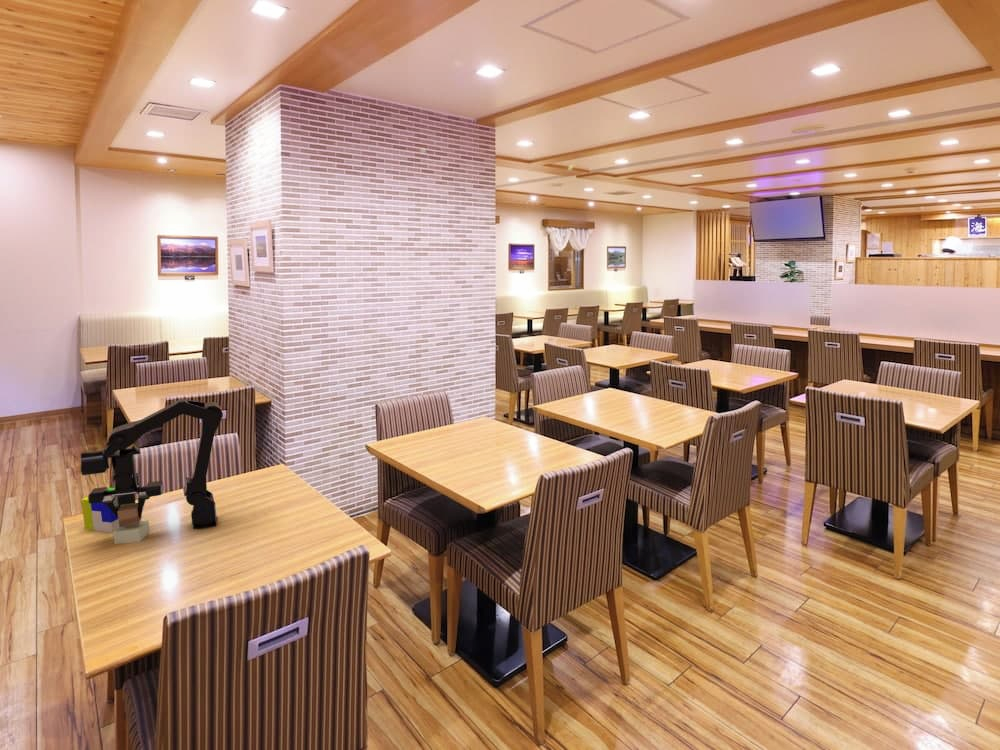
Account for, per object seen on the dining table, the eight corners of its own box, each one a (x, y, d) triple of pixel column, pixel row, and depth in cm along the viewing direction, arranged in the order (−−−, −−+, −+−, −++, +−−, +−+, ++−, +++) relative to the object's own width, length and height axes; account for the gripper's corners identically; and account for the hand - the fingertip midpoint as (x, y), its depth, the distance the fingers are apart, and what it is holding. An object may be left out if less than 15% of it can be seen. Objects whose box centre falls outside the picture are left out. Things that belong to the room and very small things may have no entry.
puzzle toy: (112, 532, 188) (108, 502, 186) (85, 529, 190) (81, 499, 188) (137, 519, 198) (134, 490, 196) (111, 516, 200) (107, 487, 198)
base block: (149, 532, 189) (148, 520, 188) (139, 543, 182) (138, 530, 181) (125, 533, 188) (124, 521, 187) (114, 544, 181) (112, 531, 180)
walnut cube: (138, 524, 183) (136, 508, 182) (119, 527, 181) (117, 511, 180) (141, 517, 187) (139, 502, 186) (122, 520, 186) (120, 504, 185)
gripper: (163, 457, 191) (168, 504, 194) (94, 464, 185) (100, 512, 188) (158, 469, 181) (163, 518, 184) (84, 476, 175) (91, 527, 178)
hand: (130, 518), depth 184 cm, fingers closed on walnut cube, 5 cm apart
